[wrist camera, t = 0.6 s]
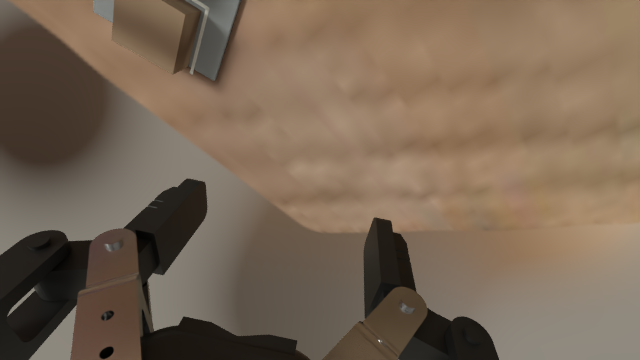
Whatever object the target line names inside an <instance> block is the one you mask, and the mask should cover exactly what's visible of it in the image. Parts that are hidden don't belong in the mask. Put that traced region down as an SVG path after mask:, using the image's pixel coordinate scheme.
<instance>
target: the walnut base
mask: <svg viewBox="0 0 640 360" xmlns="http://www.w3.org/2000/svg"><path fill="white" fill-rule="evenodd" d="M200 15H201V10H200V9H198V8H196V7H195V6H193V5H192V4H190V3H188V2H187V1H185V0H114V11H113V28H112V41H114V42H116V43H117V44H119V45H121V46H123V47H124V48H126V49H128V50H130V51H132V52H133V53H135V54H137V55H139V56H140V57H142V58H144V59H146V60H148V61H149V62H151V63H153V64H155V65H157V66H158V67H160V68H162V69H164V70H165V71H167V72H169V73H171V74H175V73H177V72H179V71H180V70H182V69H184V68H186V67H188V65H189V61H190V57H191V52H192V48H193V44H194V40H195V36H196V32H197V27H198V23H199V19H200Z"/></svg>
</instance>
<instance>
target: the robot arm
mask: <svg viewBox="0 0 640 360" xmlns="http://www.w3.org/2000/svg"><path fill="white" fill-rule="evenodd" d="M206 213H207V196H206V185H205V182H202V181H198V180H193V179H186V180H184V181H183V182H182V183H181V184H180V185H179V186H178V187H172V188H170V189H168V190H165V191H163V192H162V193H161V194H160V195H159V196H158V197H156V198H155V200H154V201H152V202H151V203H150V204H149V205H148V207H146V208H145V209H144V210H143V211H141V212H140V213H139V214H138V215H137V216H136V217H135V218H134V219H133V220H132V221H131V222H130V223H129V224H128V225H126V226H125V227H124V228H123V229H113V230H110V231H107V232H104V233H102V234H100V235H99V236H97V237H96V238H95V239H94V240H90V241H89V240H88V241H68V239H67V237H66V235H65V234H64V233H63V232H61V231H55V230H48V231H42V232H38V233H35V234H32V235H30V236H27V237H25V238H24V239H22V240H20V241H19V242H18V243H16V244H15V245H14V246H12V247H11V248H10V249H8V250H7V251H5V252H4V253H3V254H1V255H0V360H29V359H30V357H31V356H32V355H33V354H34V353H35V352H36V351H37V349H38V348H39V347H40V346H41V345H42V344H43V343H44V341H45V340H46V339H47V338H48V337H49V335H51V333H52V332H53V331H54V330H55V329H56V328H57V327H58V325H59V324H60V323H61V322H62V321H63V319H64V318H65V317H66V316H67V315H68V314H69V313H70V312H71V310H72V309H73V308H74V307H75V306H76V305H77V307H76V316H75V324H74V333H73V341H72V350H71V358H70V360H310V359H309V358H308V357H307V356H305V355H304V354H302V353H301V352H299V351H297V350H296V344H297V340H292V339H287V338H283V337H277V336H273V335H254V336H236V335H234V334H232V333H230V332H228V331H226V330H225V329H223V328H221V327H219V326H217V325H215V324H214V323H212V322H207V321H203V320H198V319H193V318H189V317H183V319H182V320H181V322H180V324H179V325H178V326H171V327H166V328H163V329H159V330H157V331H154V328H153V322H152V312H151V302H150V292H149V283H148V278H149V277H150V276H151V275H152V273H155V274H160V275H164V274H165V272H166V271H167V270H168V268H169V267H170V265H171V264H172V263H173V261H174V260H175V259H176V257H177V256H178V254H179V253H180V252H181V250H182V249H183V248H184V246H185V245H186V244H187V242H188V241H189V239H190V238H191V237H192V235H193V234H194V233H195V231H196V230H197V229H198V227H199V226H200V225H201V223H202V222H203V220H204V219H205V216H206ZM33 287H34V289H35V291H34V292H33V293H32V294H31V295H30V296H29V297H28V298H27V299H26V300H25V301H24V302H23V303H22V304H21V305H20V306H18V307H17V308H16V309H15V310H14V311H13V312H12V313H11V314H10V315H9V316H8V317H7V315H8V313H9V311H10V309H11V308H12V307H13V306H14V305H15V304H16V303H17V302H18V301H19V300H20V299H21V298H22V297H24V296H25V295H26V294H27V293H28V292H29V291H30V290H31V289H32V288H33ZM364 302H365V320H364V321H363V322H361V321H359V322H358V323H357V324H355V325H354V326H353V328H352V329H351V330H350V331H349V332H348V333H347V334H346V335H345V336H344V337H343V338H342V339H341V340H340V341H339V343H337V345H336V346H335V347H334V348H333V349H332V350H331V351H330V352H329V353H328V354H327V355H326V356H325V357H324V358H323V359H322V360H398V359H399V360H499V358H498V355H497V352H496V350H495V347H494V344H493V341H492V339H491V337H490V335H489V334H488V332H487V331H486V330H485V329H484V328H483V327H482V326H481V325H480V324H479V323H477V322H476V321H474V320H472V319H470V318H467V317H457V318H455V319H454V320H453V321H450V320H448V319H446V318H444V317H442V316H440V315H438V314H436V313H434V312H433V311H431V310H430V309H428V308H427V306H426V303H425V301H424V300H423V298H422V297H421V296H420V295H419V294H418V293H417V292H416V288H415V283H414V278H413V273H412V268H411V263H410V258H409V254H408V248H407V243H406V242H405V240H404V239H403V237H402V236H401V234H398V233H393V230H392V223H391V221H390V220H385V219H380V218H374V219H373V221H372V224H371V227H370V230H369V233H368V236H367V238H366V242H365V246H364Z"/></svg>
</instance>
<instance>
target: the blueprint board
mask: <svg viewBox="0 0 640 360" xmlns="http://www.w3.org/2000/svg"><path fill="white" fill-rule="evenodd" d="M185 1H187V2H188V3H190V4H192V5H193V6H195V7H196V8H198V9H200V10H201V15H200V19H199V23H198V27H197V32H196V36H195V40H194V44H193V48H192V52H191V57H190V61H189V65H188V66H189V67H190V68H191V70H190V73H191V74H193V72H194V70H196V71H197V72H199V73H201V74H203V75H204V76H206V77H208V78H209V79H211V80H213V81H215V80H216V78H217V74H218V71H219V68H220V65H221V62H222V59H223V55H224V52H225V49H226V46H227V43H228V40H229V36H230V33H231V30H232V27H233V24H234V21H235V17H236V14H237V11H238V8H239V5H240V2H241V0H185ZM113 11H114V0H93V12H95V13H96V14H98V15H100V16H101V17H103V18H105V19H107V20H108V21H110V22H112V23H113Z"/></svg>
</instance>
